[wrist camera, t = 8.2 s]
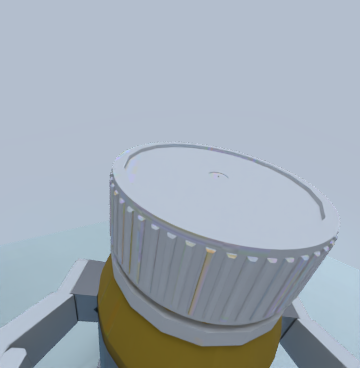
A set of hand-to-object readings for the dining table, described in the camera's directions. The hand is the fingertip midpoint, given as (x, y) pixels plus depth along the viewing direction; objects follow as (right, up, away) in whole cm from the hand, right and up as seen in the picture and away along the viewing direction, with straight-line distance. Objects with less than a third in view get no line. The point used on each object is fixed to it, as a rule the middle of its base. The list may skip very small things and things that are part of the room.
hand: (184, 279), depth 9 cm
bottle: (-2, -8, +3) cm, 9 cm away
